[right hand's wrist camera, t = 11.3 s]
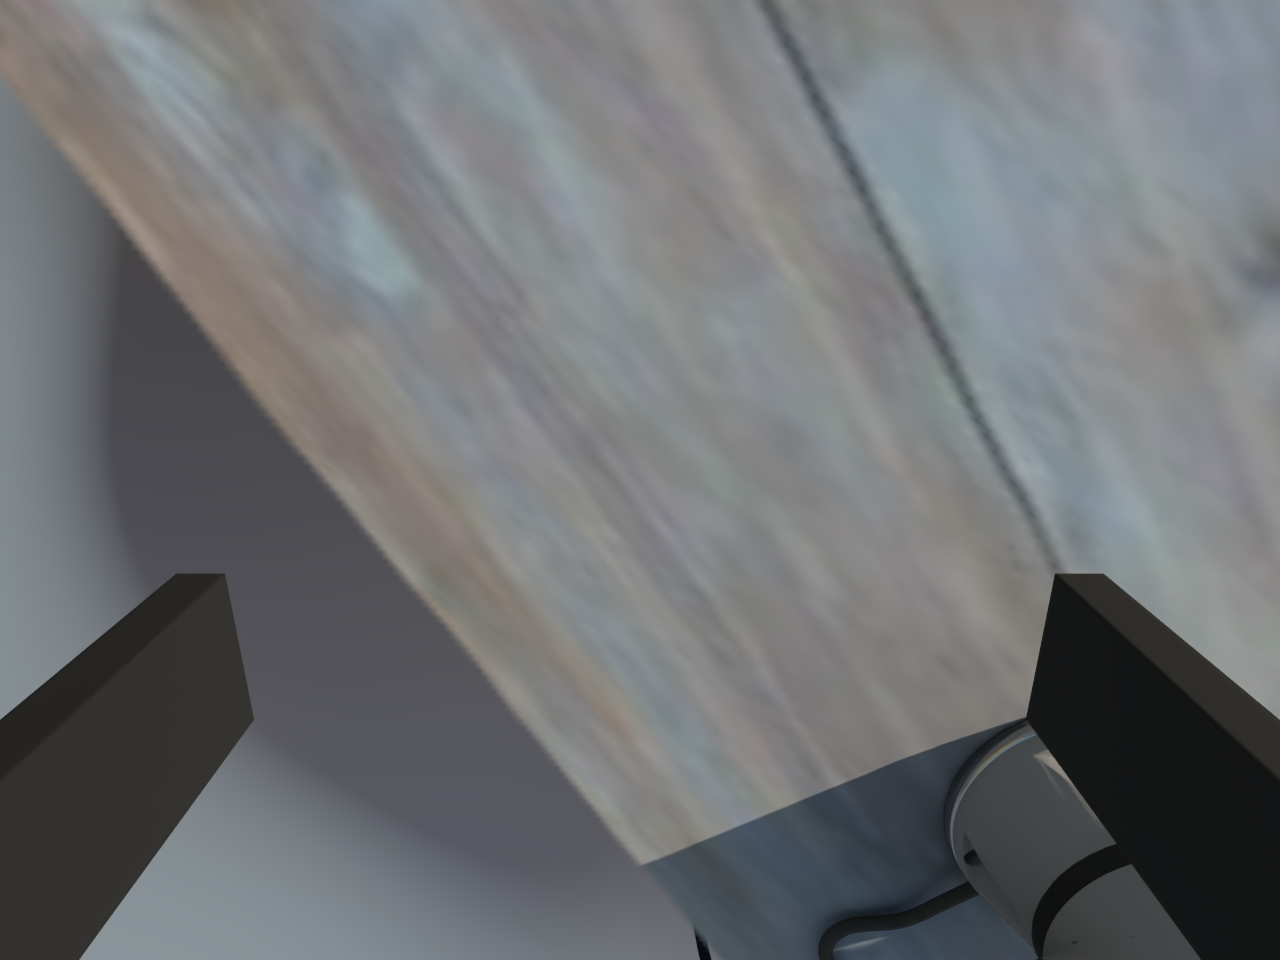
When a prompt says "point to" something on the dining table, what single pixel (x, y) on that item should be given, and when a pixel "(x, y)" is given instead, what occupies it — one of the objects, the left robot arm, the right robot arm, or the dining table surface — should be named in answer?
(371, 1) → the dining table surface
